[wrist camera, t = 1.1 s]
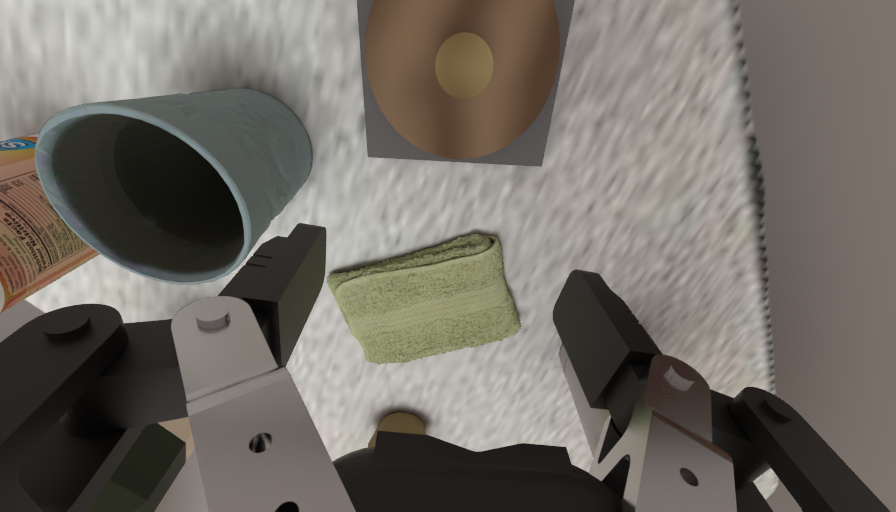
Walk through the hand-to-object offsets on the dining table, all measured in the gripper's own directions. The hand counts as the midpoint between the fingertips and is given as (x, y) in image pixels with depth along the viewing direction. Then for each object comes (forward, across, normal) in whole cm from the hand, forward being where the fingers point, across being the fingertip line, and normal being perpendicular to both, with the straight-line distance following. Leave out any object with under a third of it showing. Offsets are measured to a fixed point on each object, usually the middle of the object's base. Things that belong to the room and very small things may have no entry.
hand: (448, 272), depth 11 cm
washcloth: (+20, -2, +17) cm, 26 cm away
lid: (+18, 0, -5) cm, 19 cm away
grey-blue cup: (+20, +14, +4) cm, 25 cm away
